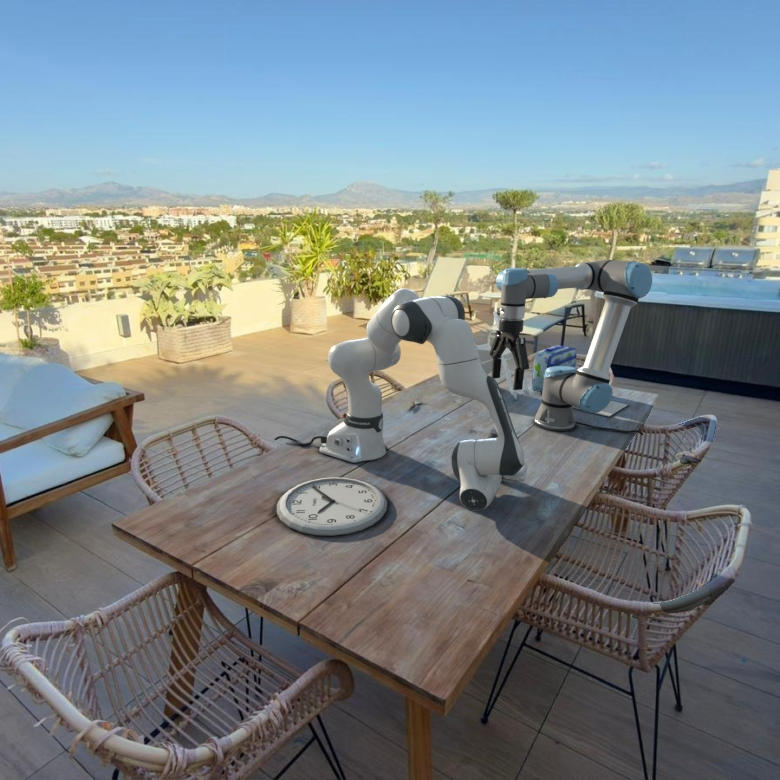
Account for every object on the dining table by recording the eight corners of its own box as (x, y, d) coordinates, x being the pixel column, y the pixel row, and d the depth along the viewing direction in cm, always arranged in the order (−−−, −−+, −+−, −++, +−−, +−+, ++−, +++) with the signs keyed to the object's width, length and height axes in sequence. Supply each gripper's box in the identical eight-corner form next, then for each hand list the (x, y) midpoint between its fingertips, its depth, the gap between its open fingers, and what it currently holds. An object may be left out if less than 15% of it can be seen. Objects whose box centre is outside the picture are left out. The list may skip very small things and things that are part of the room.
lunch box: (548, 398, 236) (553, 353, 229) (527, 393, 243) (531, 349, 237) (575, 387, 253) (581, 344, 247) (555, 382, 260) (560, 341, 254)
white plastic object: (461, 429, 252) (437, 405, 227) (444, 352, 274) (420, 323, 250) (535, 404, 240) (518, 377, 215) (510, 326, 262) (492, 293, 237)
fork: (405, 411, 216) (405, 406, 215) (417, 400, 230) (417, 395, 230) (411, 412, 215) (411, 407, 214) (422, 400, 229) (422, 396, 229)
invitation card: (608, 416, 214) (573, 407, 224) (608, 416, 214) (573, 408, 224) (628, 404, 229) (594, 396, 238) (628, 405, 229) (594, 397, 238)
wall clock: (392, 527, 129) (268, 531, 127) (391, 533, 130) (269, 537, 127) (383, 473, 158) (282, 475, 155) (383, 478, 158) (282, 480, 156)
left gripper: (524, 471, 143) (531, 452, 155) (452, 458, 151) (464, 441, 163) (522, 492, 145) (529, 472, 157) (451, 478, 152) (463, 460, 165)
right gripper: (481, 313, 174) (478, 374, 181) (523, 326, 152) (517, 396, 158) (501, 312, 176) (497, 372, 183) (545, 325, 154) (538, 393, 160)
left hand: (496, 456), depth 160 cm, fingers open, 8 cm apart
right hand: (506, 383), depth 170 cm, fingers open, 13 cm apart
